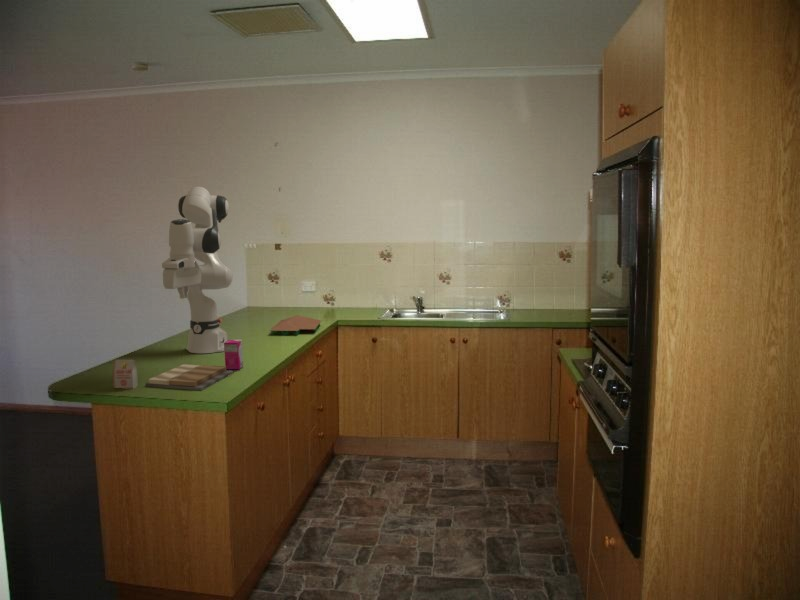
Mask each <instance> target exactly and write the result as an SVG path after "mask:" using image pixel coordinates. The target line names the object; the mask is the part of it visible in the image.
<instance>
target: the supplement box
mask: <svg viewBox="0 0 800 600" xmlns="http://www.w3.org/2000/svg"><path fill="white" fill-rule="evenodd" d="M223 352H224V366H226V370H227V371H234V370H239V371H241V370H242V369H243V368H244V367H243V366H244V353H243V339H228V341H226V342H225V343H224V351H223ZM242 367H243V368H242ZM241 368H242V369H241ZM240 369H241V370H240Z"/></svg>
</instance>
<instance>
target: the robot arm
mask: <svg viewBox="0 0 800 600" xmlns="http://www.w3.org/2000/svg"><path fill="white" fill-rule="evenodd" d="M177 209H178V213H179V215H180V216H181V217H182V218H181V219H180V218H179V219H174V220H172V221H170V222H169V228H168V244H169V245H168V246H169V247H170V250H169V251H170V252H169V257H168V258H167V259H166V260H164V261H163V262H162V263H161V268H162V269H163V271H162V283H163V287H164V289H166V290H173V289H177V292H178V294H179V299H183V300H184V299H187V301H188V304H189V310H190V323H189V325H190V326H189V327H190V331H188V337H187V338H188V339H187V340H188V343H187V346H186V347H185V350H187V351H188V352H189V353H190V354H191V353H192V354H212V353H222V352H225V351H224V343H225V342H226V341H228V340H229V339H228V338H229V337H228V333H227V332H226V331H225V330H224V329H222V327H220V324H222V322H223V321H222V318H218V316H217V313H218V312H217V311H218V309H217V303H216V301H215V300H214V299H213V298H211V297H210V296H207V295H205V294H204V293H203V290H221V289H227V288H229V287H230V285H231V284H232V282H233V273H232V271H231V269H230V268H229V267H228V266H226V265H225V264H224V263H223V262H222V261H221V260H220V257H219V253H218V252H219V250H220V247H221V245H222V243H221V241H222V240H221V235H220V233H219V226H218V225H219V224H218V223H222V221H223V220H225V218H227V216H228V213H229V211H230V210H229V209H230V204H229V202H228V199H227V197H225V196H222V195H213V194H210V191H208V189H206V188H205V187H202V186H195V187H192V188H191V189H189V191H187V193H186V195H184V196H183V195H182V196H181V197H180V198H179V200H178V203H177ZM192 224H195V225H194V227H193V225H192ZM196 260H198V261H199V262H201V263H204V264H199V263H198V262H197V261H196Z"/></svg>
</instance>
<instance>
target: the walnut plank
mask: <svg viewBox="0 0 800 600" xmlns="http://www.w3.org/2000/svg"><path fill="white" fill-rule="evenodd" d="M201 365H202V366H200V367H198V368H196V369H194V370H191V371H189V372H187V373H185V374H183V375H181V376H178V377H176V378H174V379H172V380H170V381H169V382H170V385H183V386H197V385H199V384H201V383H203V382H205V381H206V380H208V379H210V378H212V377H214V376H216V375H218V374H220V373H222V372H224V371H226V366H225V365H224V366H222V365H221V366H220V365H206V364H205V365H203V364H201Z"/></svg>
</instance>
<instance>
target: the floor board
mask: <svg viewBox="0 0 800 600" xmlns="http://www.w3.org/2000/svg"><path fill="white" fill-rule="evenodd" d="M202 365H203V364H200V365H199V364H186V363H183V364H181V365H179V366H176V367H174V368H172V369H169V370H167V371H165V372H162V373H160V374H158V375H156V376H153V377H151V378H148V382H146V383H145V387H148V388H149V387H150V388H151V387H152V388H160V389H161V388H163V389H175V390H179V389H180V390H186V391H187V390H190V391H200V392H201V391H203V390H205V389H207V388H209V387H211V386H213V385H215V384H217V383H218V382H221V381H222V380H224V379H226V378H228V377H229V376H228V375H230V374H231V375H233V374H234V370H226V371H224V372H222V373H220V374H218V375H216V376H214V377H212V378H210V379H208V380H206V381H205V382H203V383H201V384H199V385H197V386H183V385H170V382H169V381H170V380H172V379H174V378H176V377H178V376H181V375H183V374H185V373H187V372H189V371H191V370H194V369H196V368H198V367H200V366H202ZM232 373H233V374H232ZM231 375H230V376H231ZM227 376H228V377H227ZM225 377H226V378H225ZM223 378H224V379H223ZM216 382H217V383H216Z"/></svg>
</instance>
